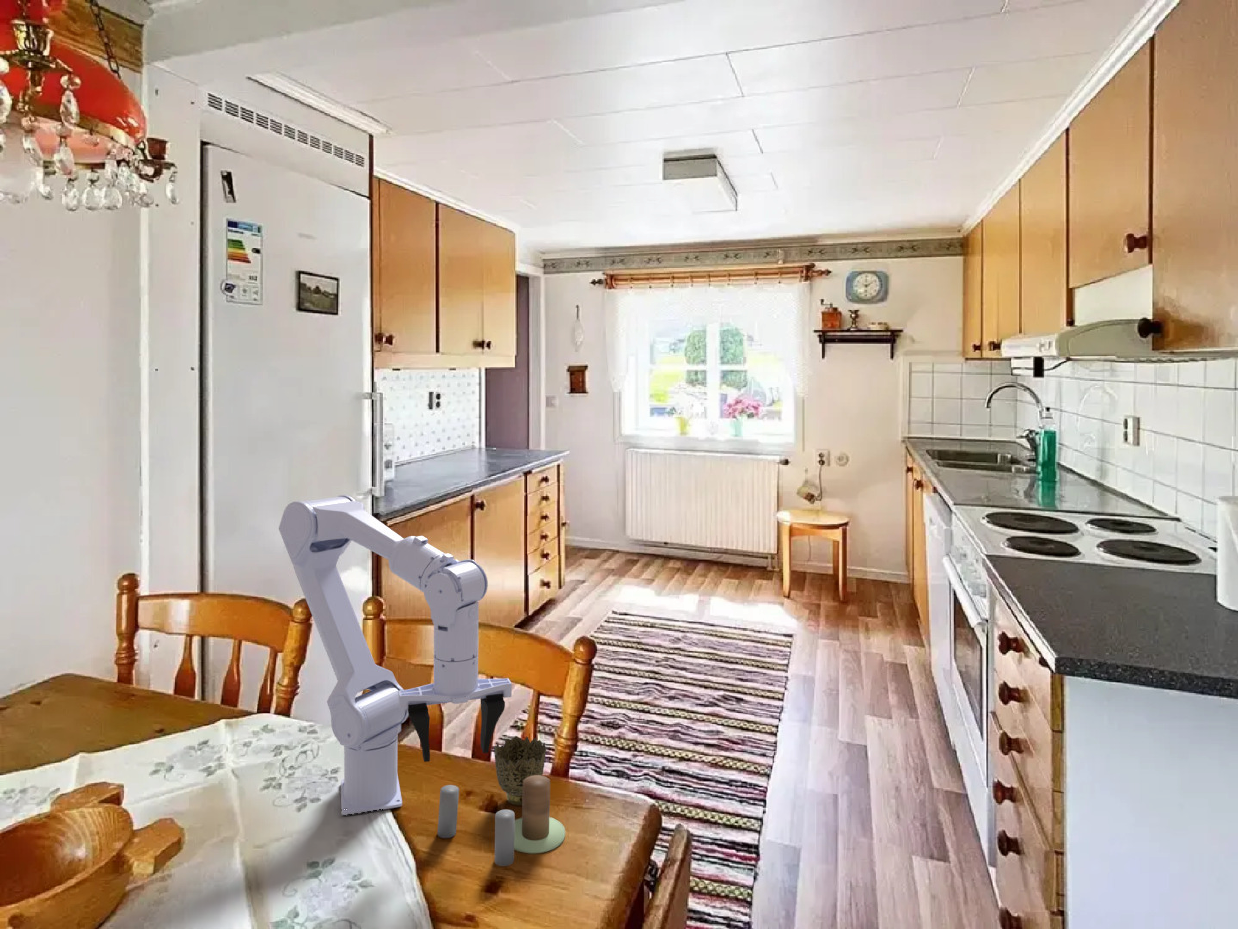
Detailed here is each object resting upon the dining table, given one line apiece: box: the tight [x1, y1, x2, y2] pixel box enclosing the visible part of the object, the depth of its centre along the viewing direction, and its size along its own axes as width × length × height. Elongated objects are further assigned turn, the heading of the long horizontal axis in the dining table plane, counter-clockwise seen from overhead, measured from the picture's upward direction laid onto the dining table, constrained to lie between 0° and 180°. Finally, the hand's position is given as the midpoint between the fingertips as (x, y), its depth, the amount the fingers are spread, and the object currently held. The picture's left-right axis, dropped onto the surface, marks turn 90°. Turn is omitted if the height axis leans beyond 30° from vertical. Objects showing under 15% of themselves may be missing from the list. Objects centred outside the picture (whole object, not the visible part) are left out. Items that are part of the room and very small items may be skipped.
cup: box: [493, 735, 548, 806], centre depth 107 cm, size 8×7×8 cm
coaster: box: [514, 816, 566, 854], centre depth 99 cm, size 8×8×1 cm
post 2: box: [494, 809, 516, 867], centre depth 93 cm, size 2×2×6 cm
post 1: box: [437, 784, 460, 839], centre depth 98 cm, size 2×2×6 cm
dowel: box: [521, 775, 551, 841], centre depth 99 cm, size 4×4×7 cm
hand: (455, 754), depth 99 cm, fingers open, 7 cm apart
